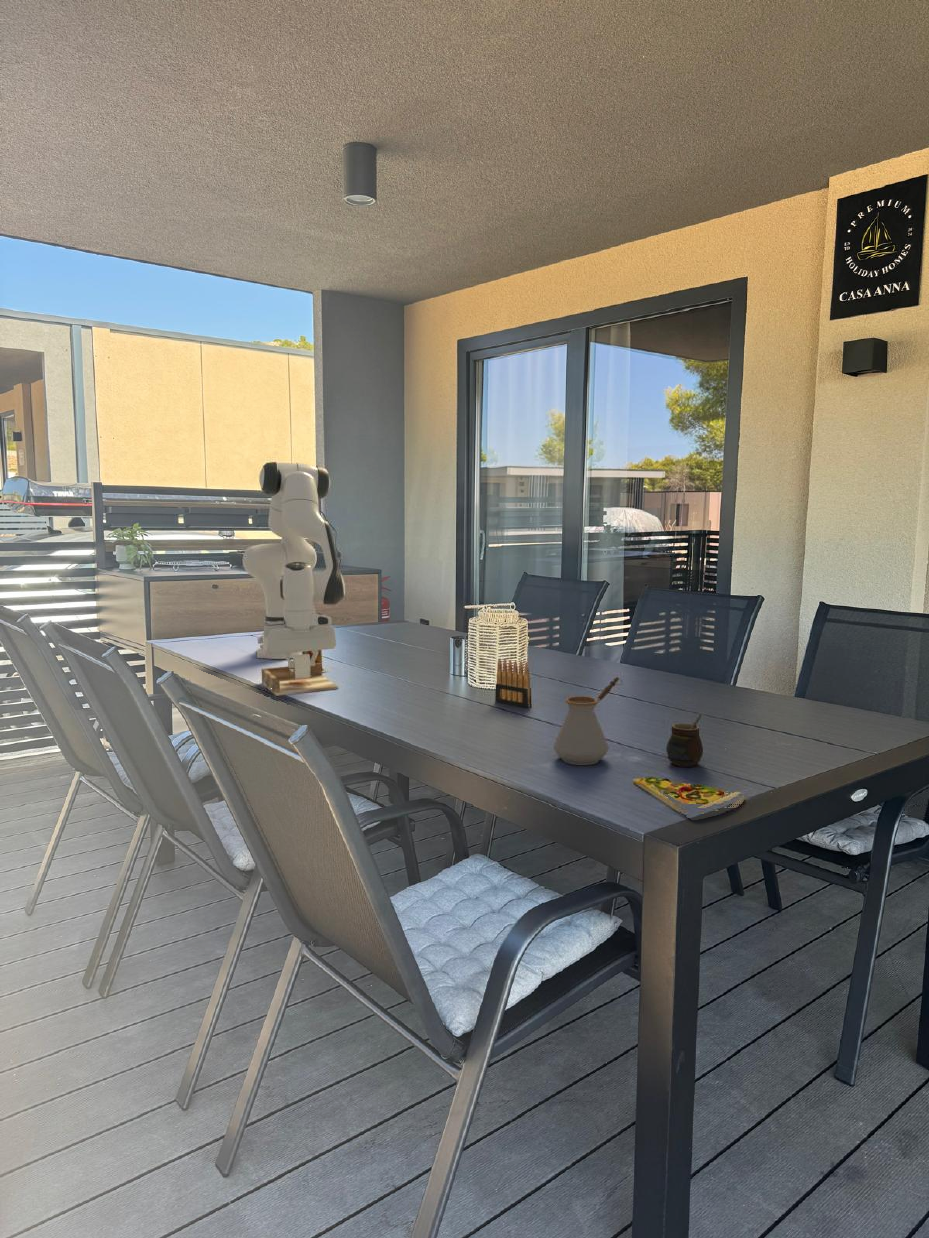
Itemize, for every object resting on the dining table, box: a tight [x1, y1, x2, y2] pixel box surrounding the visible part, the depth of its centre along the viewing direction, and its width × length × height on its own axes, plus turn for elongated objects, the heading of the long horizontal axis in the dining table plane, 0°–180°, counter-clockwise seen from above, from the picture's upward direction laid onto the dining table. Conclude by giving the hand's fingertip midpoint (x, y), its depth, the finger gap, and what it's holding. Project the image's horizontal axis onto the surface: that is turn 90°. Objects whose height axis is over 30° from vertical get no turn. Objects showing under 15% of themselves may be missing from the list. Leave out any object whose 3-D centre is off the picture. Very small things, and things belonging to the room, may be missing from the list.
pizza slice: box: [632, 775, 745, 814], centre depth 155 cm, size 16×21×3 cm
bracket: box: [289, 654, 311, 679], centre depth 246 cm, size 7×4×6 cm, turn 25°
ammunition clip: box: [494, 657, 533, 709], centre depth 222 cm, size 11×2×12 cm, turn 51°
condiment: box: [302, 650, 328, 673], centre depth 267 cm, size 7×8×12 cm
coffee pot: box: [553, 676, 624, 766], centre depth 180 cm, size 21×12×15 cm, turn 140°
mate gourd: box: [665, 713, 704, 768], centre depth 173 cm, size 7×8×10 cm
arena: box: [260, 663, 339, 697], centre depth 247 cm, size 18×18×4 cm
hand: (301, 666), depth 243 cm, fingers closed on bracket, 4 cm apart
